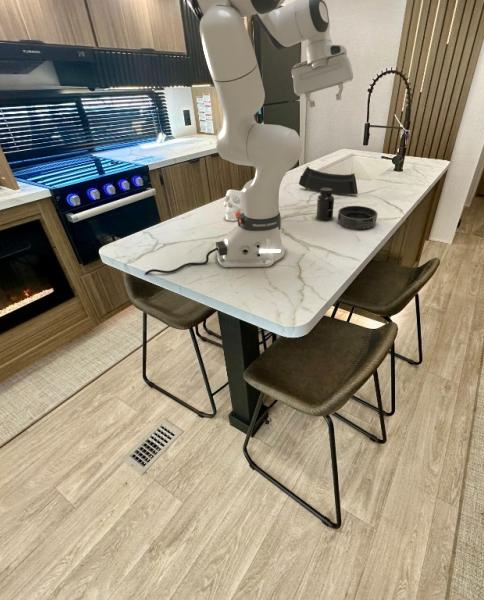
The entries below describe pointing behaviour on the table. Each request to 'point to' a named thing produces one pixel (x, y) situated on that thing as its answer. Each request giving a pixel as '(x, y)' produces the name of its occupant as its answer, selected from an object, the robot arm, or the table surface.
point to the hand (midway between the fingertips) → (325, 103)
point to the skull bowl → (233, 204)
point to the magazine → (328, 182)
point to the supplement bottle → (325, 204)
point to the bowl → (357, 217)
